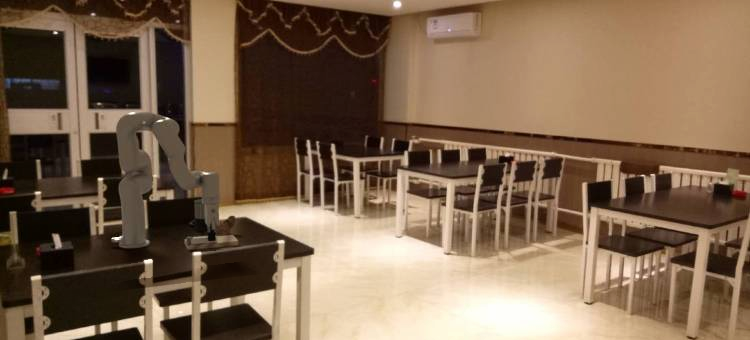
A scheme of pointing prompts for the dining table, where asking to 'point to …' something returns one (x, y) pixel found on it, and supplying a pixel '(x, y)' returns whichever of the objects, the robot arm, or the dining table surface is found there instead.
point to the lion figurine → (226, 225)
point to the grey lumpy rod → (199, 240)
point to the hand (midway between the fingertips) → (211, 240)
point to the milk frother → (199, 216)
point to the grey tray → (221, 242)
